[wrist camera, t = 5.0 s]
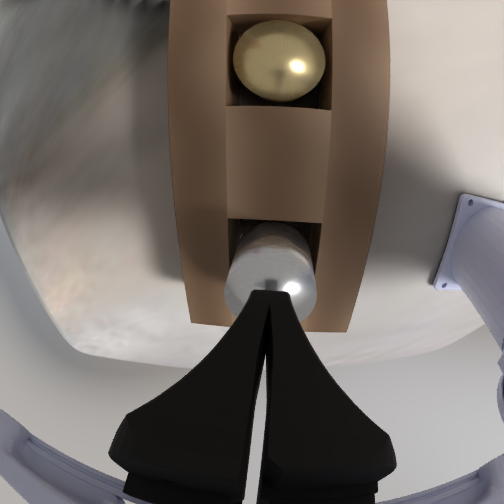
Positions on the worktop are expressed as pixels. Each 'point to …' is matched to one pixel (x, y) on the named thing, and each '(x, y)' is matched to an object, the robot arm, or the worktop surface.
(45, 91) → the worktop surface
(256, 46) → the brass peg
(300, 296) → the steel peg
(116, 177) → the worktop surface
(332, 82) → the walnut block
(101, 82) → the worktop surface
